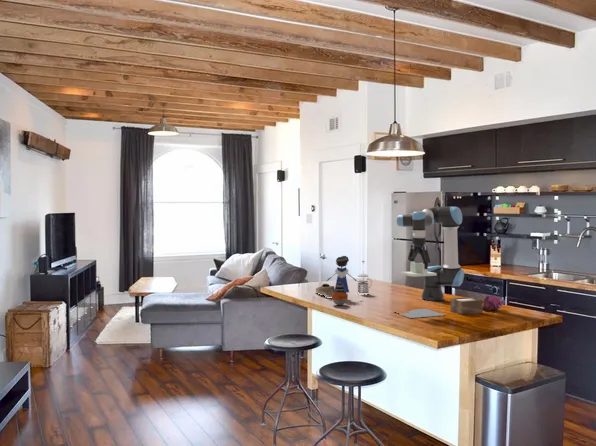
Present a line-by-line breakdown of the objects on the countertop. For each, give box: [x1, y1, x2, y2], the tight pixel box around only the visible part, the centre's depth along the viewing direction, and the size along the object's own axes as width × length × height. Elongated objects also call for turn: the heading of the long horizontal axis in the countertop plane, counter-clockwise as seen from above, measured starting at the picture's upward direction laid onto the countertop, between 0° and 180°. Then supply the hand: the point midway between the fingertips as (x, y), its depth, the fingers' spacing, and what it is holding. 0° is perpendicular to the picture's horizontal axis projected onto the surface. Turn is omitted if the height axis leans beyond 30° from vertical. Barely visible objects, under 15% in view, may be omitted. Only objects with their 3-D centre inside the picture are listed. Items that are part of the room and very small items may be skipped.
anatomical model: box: [482, 294, 506, 312], centre depth 320 cm, size 12×10×15 cm
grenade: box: [331, 282, 349, 306], centre depth 335 cm, size 11×10×15 cm
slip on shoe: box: [315, 283, 335, 297], centre depth 374 cm, size 30×11×9 cm, turn 11°
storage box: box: [449, 296, 484, 316], centre depth 312 cm, size 11×15×8 cm
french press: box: [357, 260, 373, 293], centre depth 378 cm, size 10×12×25 cm
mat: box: [402, 308, 446, 319], centre depth 307 cm, size 20×24×1 cm
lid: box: [400, 262, 437, 278], centre depth 306 cm, size 12×16×7 cm
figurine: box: [325, 255, 359, 293], centre depth 361 cm, size 23×9×30 cm, turn 84°
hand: (418, 273), depth 306 cm, fingers closed on lid, 12 cm apart
